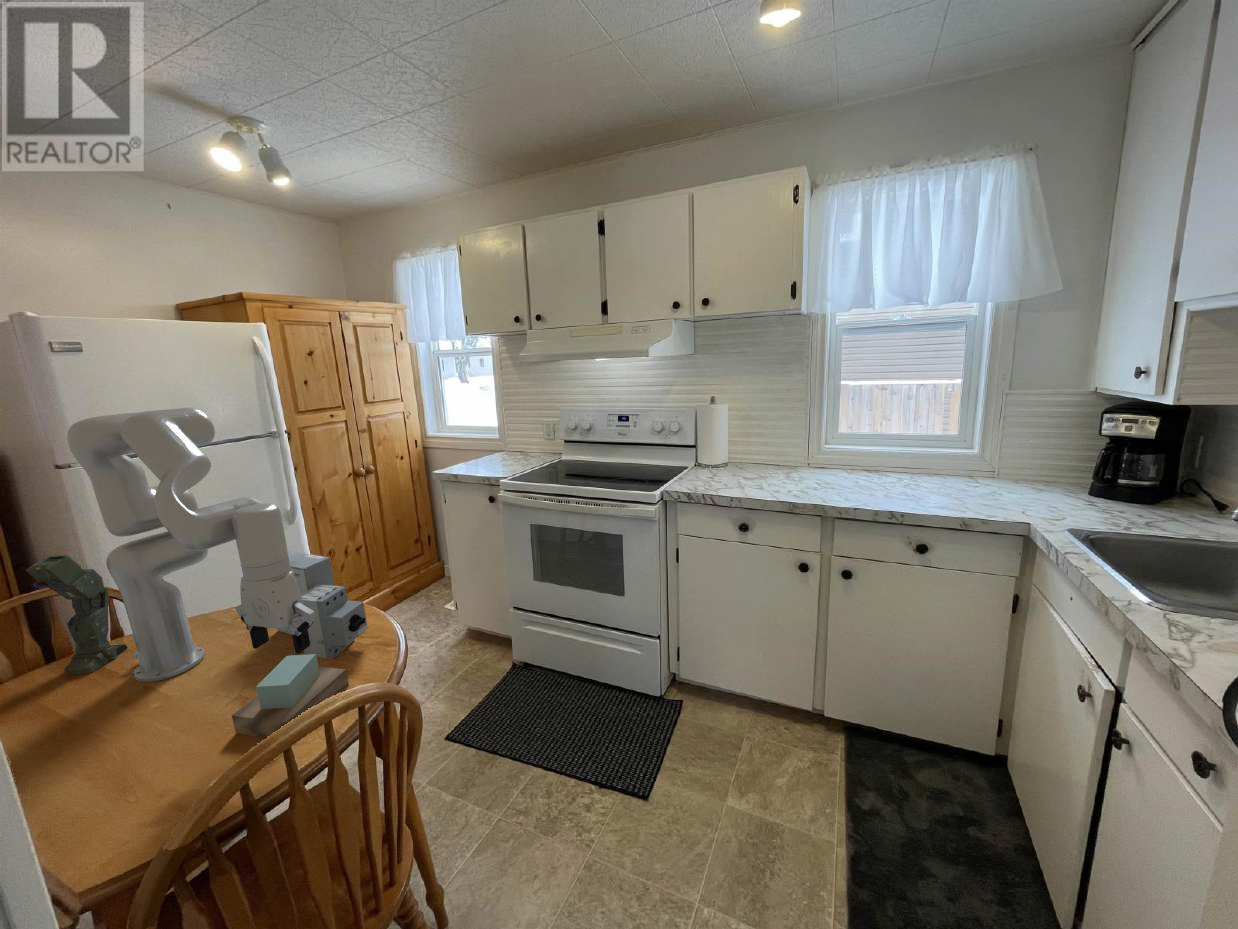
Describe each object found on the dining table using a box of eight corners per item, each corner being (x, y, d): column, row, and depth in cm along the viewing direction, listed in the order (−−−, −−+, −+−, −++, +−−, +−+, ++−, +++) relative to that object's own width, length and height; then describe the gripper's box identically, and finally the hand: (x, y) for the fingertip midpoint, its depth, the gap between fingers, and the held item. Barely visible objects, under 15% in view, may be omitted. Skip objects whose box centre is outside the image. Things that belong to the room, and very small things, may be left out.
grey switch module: (343, 627, 134) (331, 557, 130) (317, 642, 127) (303, 569, 123) (303, 617, 140) (290, 550, 135) (276, 631, 133) (261, 561, 128)
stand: (235, 733, 97) (231, 715, 96) (301, 680, 112) (298, 664, 112) (289, 740, 95) (285, 722, 94) (348, 685, 110) (345, 669, 109)
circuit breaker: (355, 661, 119) (345, 603, 116) (303, 655, 122) (292, 599, 118) (375, 643, 126) (367, 588, 123) (326, 638, 129) (316, 584, 126)
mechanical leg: (114, 638, 130) (54, 543, 117) (144, 636, 131) (88, 541, 117) (67, 682, 118) (-6, 582, 105) (100, 680, 119) (32, 580, 105)
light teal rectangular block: (292, 707, 98) (287, 685, 97) (260, 709, 98) (255, 686, 97) (319, 675, 108) (315, 654, 107) (291, 676, 107) (286, 655, 106)
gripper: (210, 573, 95) (228, 654, 99) (289, 580, 91) (304, 663, 95) (246, 557, 102) (261, 632, 106) (320, 563, 99) (333, 641, 103)
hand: (282, 647), depth 101 cm, fingers open, 9 cm apart
